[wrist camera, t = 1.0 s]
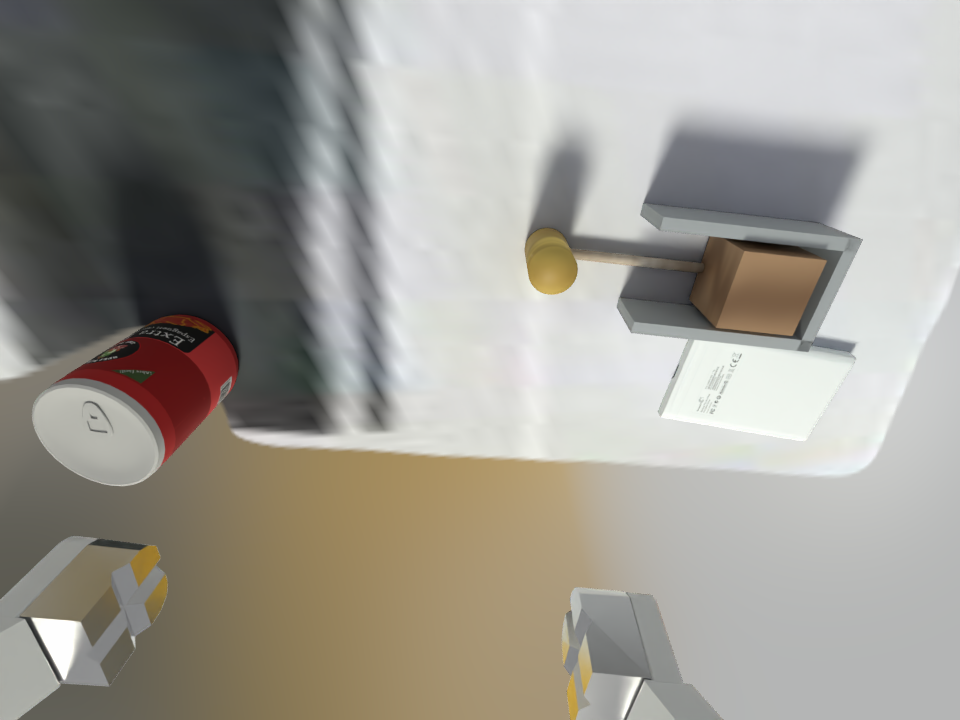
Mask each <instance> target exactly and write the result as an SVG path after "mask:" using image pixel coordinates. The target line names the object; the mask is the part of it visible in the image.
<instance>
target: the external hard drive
mask: <svg viewBox="0 0 960 720" xmlns="http://www.w3.org/2000/svg"><path fill="white" fill-rule="evenodd" d="M855 360H856V358H855V356H853V355H852V354H851V353H850V352H847V351H841V350H835V349H829V348H823V347H817V346H811V348H810V350H809V352H802V351H793V350H783V349H774V348H765V347H756V346H747V345H738V344H728V343H719V342H710V341H701V340H692V339H688V341H687V344H686V346H685V348H684V351H683V353H682V356H681V358H680V360H679V367H678V369H677V371H676V374H675V376H674V378H672V379H671V382H670V384H669V386H668V389H667V391H666V393H665V396H664V398H663V400H662V403H661V405H660V407H659V410H658V414H659V416H660V417H663V418H668V419H675V420H680V421H686V422H692V423H697V424H703V425H709V426H715V427H721V428H727V429H733V430H739V431H745V432H750V433H756V434H762V435H768V436H774V437H780V438H787V439H793V440H798V441H805V440H806V439H807V438H808V437H809V435H810V433H811V432H812V430H813V429H814V427H815V425H816V424H817V422H818V421H819V419H820V417H821V416H822V414H823V413H824V411H825V409H826V408H827V406H828V405H829V403H830V401H831V400H832V398H833V397H834V395H835V394H836V392H837V390H838V389H839V387H840V385H841V384H842V383H843V381H844V379H845V378H846V376H847V375H848V373H849V371H850V370H851V368H852V366H853V364H854V363H855Z"/></svg>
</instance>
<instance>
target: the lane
mask: <svg viewBox="0 0 960 720" xmlns="http://www.w3.org/2000/svg"><path fill="white" fill-rule="evenodd" d="M641 216H642V217H643V218H645V219H646V220H647V221H648V222H650V223H651V224H652V225H653V226H655V227H656V228H657V229H658V230H660V231H668V232H677V233H685V234H694V235H703V236H712V237H721V238H730V239H739V240H748V241H757V242H766V243H774V244H783V245H792V246H798V247H800V248H802V249H804V250H806V251H809V252H811V253H813V254H815V255H817V256H819V257H821V258H823V259H825V260H827V262H826V264H825V266H824V269H823V271H822V273H821V275H820V277H819V279H818V282H817V284H816V286H815V288H814V290H813V293H812V295H811V297H810V299H809V301H808V303H807V306H806V308H805V310H804V312H803V314H802V317H801V319H800V321H799V323H798V325H797V327H796V330H795V332H794V334H793V336H787V335H778V334H769V333H760V332H751V331H742V330H733V329H723V328H716V327H715V326H714V325H713V324H712V323H711V322H710V321H709V320H708V319H707V318H706V317H705V316H704V315H703V314H702V313H701V312H700V311H699V309H698V308H697V307H696V306H692V305H683V304H674V303H665V302H656V301H647V300H638V299H629V298H620V297H619V301H618V305H617V309H618V310H619V312H620V314H621V316H622V318H623V319H624V321H625V323H626V325H627V326H628V328H629V330H630V332H631V333H637V334H646V335H655V336H664V337H673V338H683V339H692V340H701V341H710V342H719V343H728V344H738V345H747V346H756V347H765V348H774V349H783V350H793V351H802V352H809V350H810V348H811V346H812V344H813V341H814V339H815V337H816V335H817V333H818V331H819V329H820V327H821V325H822V323H823V321H824V319H825V317H826V315H827V313H828V311H829V309H830V306H831V304H832V302H833V300H834V298H835V296H836V294H837V292H838V290H839V288H840V286H841V284H842V282H843V280H844V278H845V276H846V273H847V271H848V269H849V267H850V265H851V263H852V261H853V259H854V257H855V255H856V253H857V251H858V249H859V247H860V245H861V243H862V240H863V239H860V238H858V237H855V236H852V235H850V234H847V233H844V232H842V231H839V230H836V229H834V228H831V227H828V226H826V225H823V224H820V223H816V222H807V221H798V220H789V219H780V218H772V217H763V216H754V215H745V214H736V213H727V212H719V211H710V210H701V209H692V208H683V207H674V206H666V205H657V204H648V203H643V207H642V211H641Z"/></svg>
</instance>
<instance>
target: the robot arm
mask: <svg viewBox="0 0 960 720" xmlns="http://www.w3.org/2000/svg"><path fill="white" fill-rule="evenodd" d="M160 558H161V557H160V554H159V552H158V549H157V546H153V545H145V544H136V543H129V542H120V541H113V540H104V539H97V538H88V537H78V536H71V537H69V538H67V539H65V540H63V541H61V542H60V543H59V544H58V545H57V546H56V547H55V548H54V549H53V550H52V551H51V552H49V553H48V554H47V555H46V556H45V557H44V558H43V559H42V560H41V561H40V562H39V563H38V564H37V565H36V566H35V567H34V568H33V569H32V570H31V571H30V572H29V573H28V574H27V575H26V576H25V577H24V578H23V579H21V580H20V582H18V584H16V585H15V586H14V587H13V588H12V589H11V590H10V591H9V592H8V593H7V594H6V595H5V596H4V597H3V598H2V599H1V600H0V720H17V719H18V718H19V717H21V716H22V715H23V714H25V713H26V712H27V711H29V710H30V709H31V708H32V707H34V706H35V705H36V704H38V703H39V702H40V701H41V700H43V699H44V698H46V697H47V696H48V695H49V694H51V693H52V692H53V691H55V690H56V689H57V688H59V687H60V684H59V683H67V684H82V685H98V686H110V684H111V683H112V682H113V681H114V679H115V678H116V676H117V675H118V673H119V672H120V670H121V669H122V667H123V666H124V664H125V663H126V661H127V660H128V659H129V657H130V656H131V654H132V653H133V651H134V650H135V636H136V635H138V634H139V633H141V632H142V631H144V630H145V629H146V628H148V627H150V626H151V625H152V623H153V622H154V620H155V619H156V617H157V616H158V614H159V613H160V611H161V609H162V606H163V604H164V601H165V598H166V596H167V588H168V581H167V578H166V574H165V573H164V572H163V571H162V570H161V569H159V568H158V567H157V566H156V564H157V562H158V561H159V559H160ZM570 603H571V611H569V612H568V613H566V615H565V619H564V623H563V631H562V654H563V664H564V667H565V669H566V670H567V671H568V673H569V674H570V675H571V679H570V682H569V685H568V689H567V699H568V707H569V715H570V720H723V719H722V718H721V717H720V715H719V714H718V713H717V712H716V711H715V710H714V709H713V708H712V707H711V706H710V704H709V703H708V702H707V701H706V700H705V699H704V698H703V697H702V695H701V694H700V693H699V692H698V691H697V690H696V689H695V687H694V686H693V685H691V684H685V683H683V680H682V677H681V674H680V671H679V668H678V665H677V662H676V659H675V656H674V653H673V650H672V647H671V644H670V641H669V638H668V635H667V632H666V629H665V626H664V623H663V619H662V617H661V613H660V611H659V607H658V604H657V601H656V600H655V598H654V597H653V596H652V595H649V594H639V593H628V592H624V591H614V590H602V589H591V588H579V587H575V588H574V590H573V591H572V594H571V597H570Z"/></svg>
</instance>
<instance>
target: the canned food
mask: <svg viewBox="0 0 960 720" xmlns="http://www.w3.org/2000/svg"><path fill="white" fill-rule="evenodd" d="M238 370H239V368H238V359H237V355H236V352H235V350H234V348H233V346H232V344H231V343H230V341H229V340H228V338H227V337H226V336H225V335H224V334H223V333H222V332H221V331H220V330H219V329H217V328H216V327H215V326H214V325H212V324H210V323H208V322H207V321H205V320H203V319H200V318H197V317H194V316H190V315H172V316H167V317H161V318H159V319H157V320H155V321H153V322H151V323H150V324H148V325H146V326H145V327H143V328H141V329H140V330H138V331H137V332H135V333H133V334H132V335H130V336H129V337H127V338H125V339H124V340H122V341H121V342H119V343H117V344H116V345H114V346H113V347H111V348H109V349H108V350H106V351H105V352H103V353H101V354H100V355H98V356H96V357H95V358H93V359H92V360H90V361H88V362H87V363H85V364H83V365H82V366H81V367H79V368H77V369H75V370H74V371H72V372H71V373H69V374H67V375H66V376H65V377H63V378H62V379H60V380H59V381H57V382H56V383H54V384H52V385H51V386H50V387H49V388H48V389H46V390H45V391H44V392H43V393H41V394H40V395H39V396H38V398H37V399H36V401H35V403H34V406H33V410H32V421H33V425H34V428H35V431H36V433H37V435H38V437H39V439H40V441H41V442H42V444H43V445H44V446H45V448H46V449H47V450H48V452H49V453H50V454H51V455H52V456H53V457H54V458H55V459H56V460H58V461H59V462H60V463H62V464H63V465H64V466H65V467H67V468H69V469H70V470H72V471H73V472H75V473H76V474H78V475H80V476H82V477H85V478H87V479H89V480H92V481H95V482H98V483H102V484H107V485H113V486H126V485H133V484H136V483H139V482H142V481H144V480H145V479H147V478H148V477H149V476H150V475H151V474H153V473H154V472H155V471H156V470H157V469H158V468H159V467H160V466H161V465H162V464H163V463H164V462H165V461H166V460H167V459H168V458H169V457H170V456H171V455H172V454H173V453H174V451H175V450H177V448H178V447H179V446H180V445H181V444H182V443H183V442H184V441H185V440H186V438H188V436H189V435H190V434H191V433H192V432H193V431H194V430H195V429H196V428H197V427H198V426H199V424H201V422H202V421H203V420H204V419H205V418H206V417H207V416H208V415H209V414H210V413H211V411H212V410H213V409H214V408H215V407H216V406H217V405H218V404H219V403H220V402H221V401H222V400H223V399H224V398H225V396H226V395H227V394H228V393H229V392H230V391H231V390H232V388H233V386H234V384H235V382H236V378H237V375H238Z"/></svg>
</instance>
